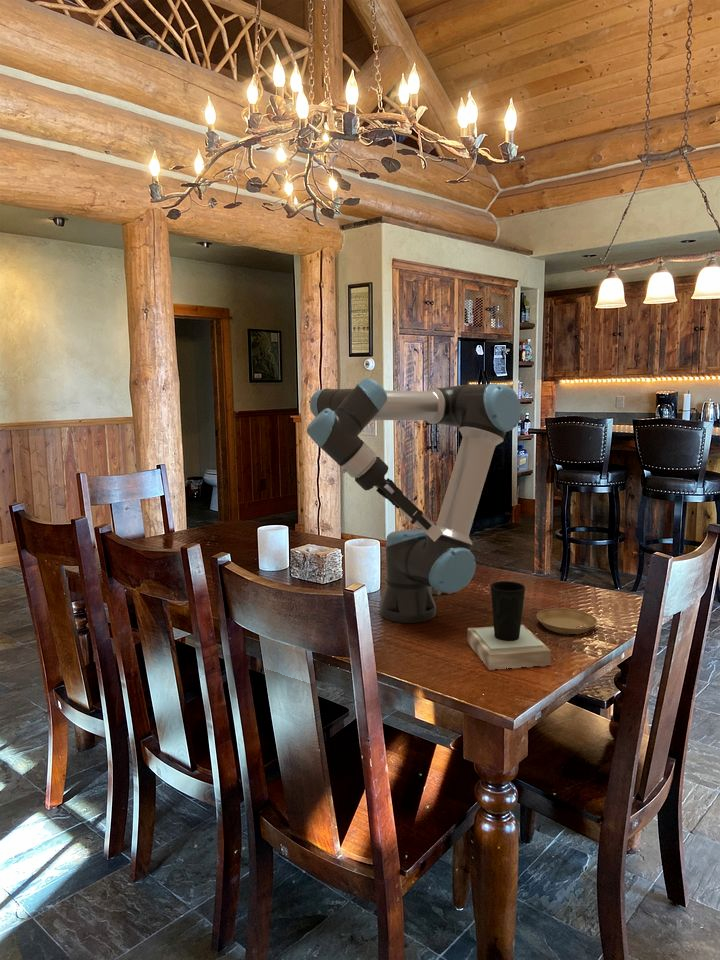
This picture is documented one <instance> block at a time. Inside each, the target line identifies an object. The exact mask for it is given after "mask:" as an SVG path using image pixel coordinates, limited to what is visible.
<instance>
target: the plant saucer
mask: <svg viewBox="0 0 720 960" xmlns="http://www.w3.org/2000/svg"><path fill="white" fill-rule="evenodd" d="M536 619H537V620H538V621H539V622H540V624H541V625H542V626H543V627H545V628H546V629H547V630H548V631H551V632H553V633H557V634H562V635H569V634H576V635H582V634H581V633H583V634H586V633H588V632H589V631H590V630H592V629H593V628H594V627H595V626H596V625H597V624H598V619H597V617H595V616H594V615H592V614H591V613H588V612H585V611H583V610H578V609H572V608H562V607H561V608H560V607H553V608H547V609H542V610H540V611H538V612H537V614H536ZM584 624H585V625H587V626H588V627H586V628H576V627H578V626H581V625H582V626H583V627H584V626H585V625H584ZM585 632H586V633H585Z"/></svg>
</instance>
